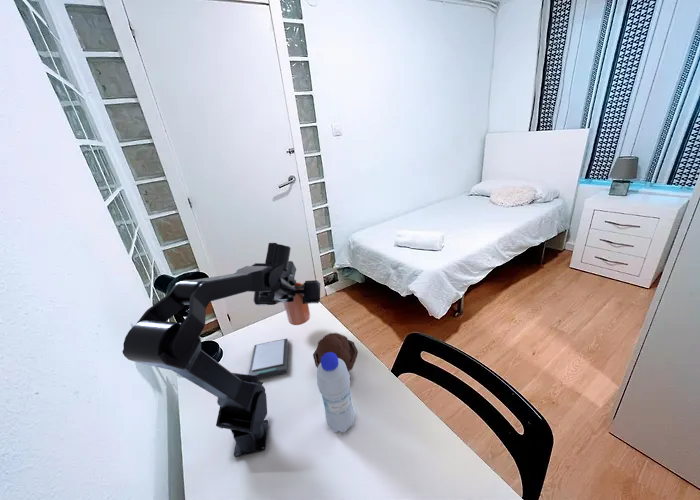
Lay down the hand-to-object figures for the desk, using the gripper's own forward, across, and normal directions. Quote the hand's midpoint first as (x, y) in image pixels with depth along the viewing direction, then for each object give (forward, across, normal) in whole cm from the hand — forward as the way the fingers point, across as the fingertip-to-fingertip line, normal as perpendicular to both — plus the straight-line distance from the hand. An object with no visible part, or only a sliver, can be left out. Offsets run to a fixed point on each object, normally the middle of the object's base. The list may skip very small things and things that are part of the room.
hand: (296, 297), depth 86 cm
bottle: (-13, -16, +31) cm, 37 cm away
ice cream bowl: (-5, -15, +23) cm, 28 cm away
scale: (0, +7, +18) cm, 19 cm away
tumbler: (+4, 0, +6) cm, 7 cm away
